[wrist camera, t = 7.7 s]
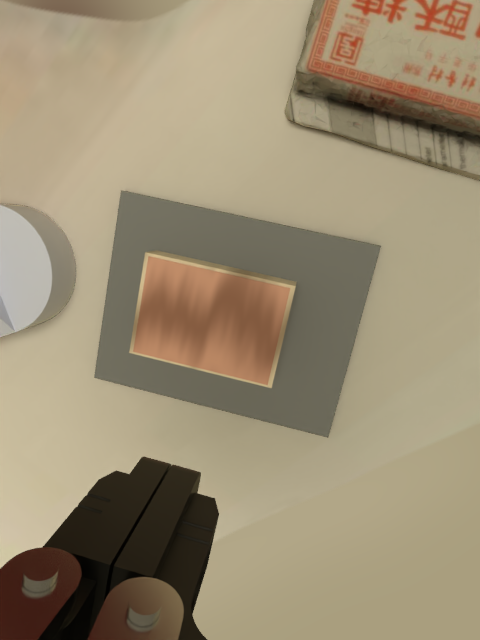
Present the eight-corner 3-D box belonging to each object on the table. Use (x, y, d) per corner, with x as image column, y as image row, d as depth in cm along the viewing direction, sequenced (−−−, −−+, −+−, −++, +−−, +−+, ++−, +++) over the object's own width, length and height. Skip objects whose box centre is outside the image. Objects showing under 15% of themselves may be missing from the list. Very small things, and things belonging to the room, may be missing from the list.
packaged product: (277, 105, 26) (337, -97, 23) (281, 124, 30) (332, -43, 28) (600, 200, 24) (697, -5, 22) (552, 204, 29) (629, 36, 27)
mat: (123, 191, 32) (121, 190, 32) (379, 245, 31) (380, 246, 30) (97, 375, 35) (94, 377, 35) (327, 434, 34) (328, 437, 33)
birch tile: (296, 281, 31) (156, 250, 32) (295, 286, 29) (144, 252, 30) (273, 376, 33) (141, 344, 34) (271, 389, 30) (128, 353, 31)
